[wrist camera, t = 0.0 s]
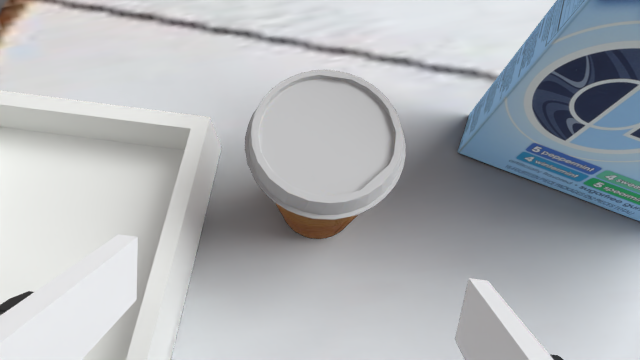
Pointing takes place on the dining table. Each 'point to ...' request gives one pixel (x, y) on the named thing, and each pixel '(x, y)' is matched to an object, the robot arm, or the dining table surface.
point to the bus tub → (105, 204)
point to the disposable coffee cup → (325, 149)
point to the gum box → (569, 106)
